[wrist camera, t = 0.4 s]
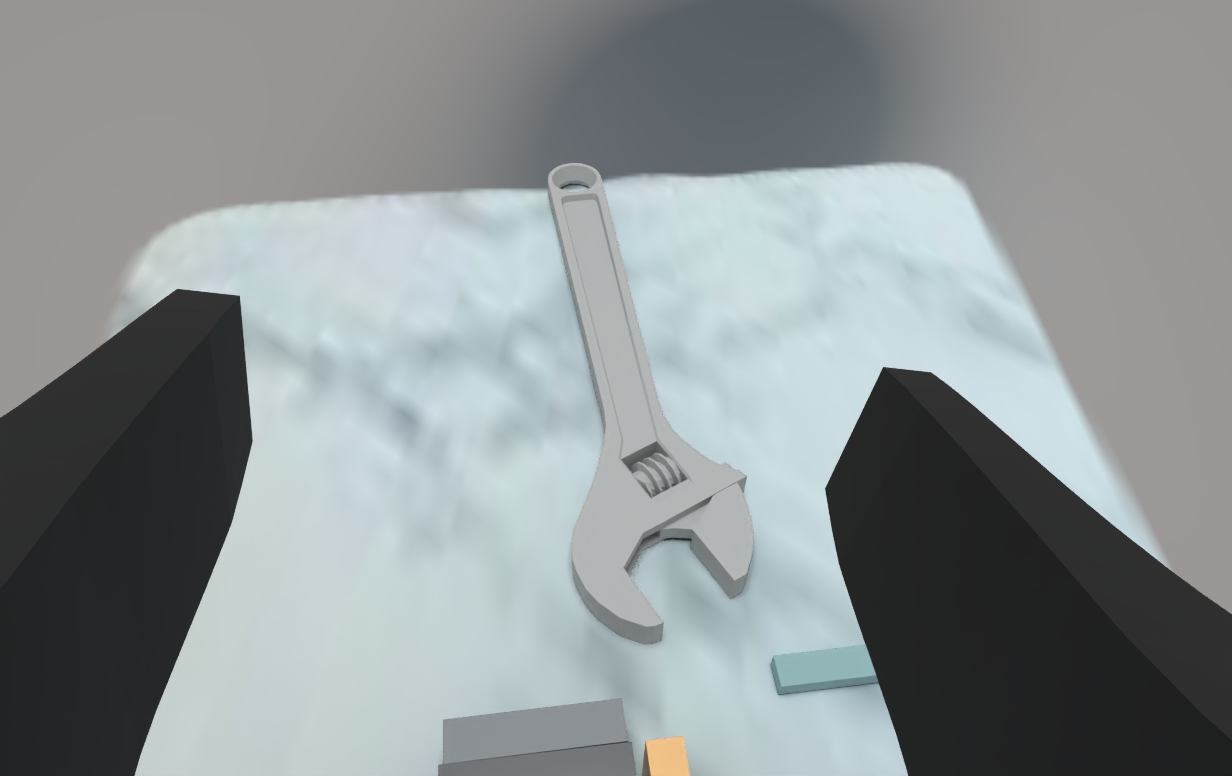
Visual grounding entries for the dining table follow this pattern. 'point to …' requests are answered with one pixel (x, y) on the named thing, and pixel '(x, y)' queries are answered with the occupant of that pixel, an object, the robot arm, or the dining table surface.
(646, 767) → the orange l-shaped block
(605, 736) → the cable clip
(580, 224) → the adjustable wrench
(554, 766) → the plug block
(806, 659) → the rails
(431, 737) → the dining table surface
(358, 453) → the dining table surface
